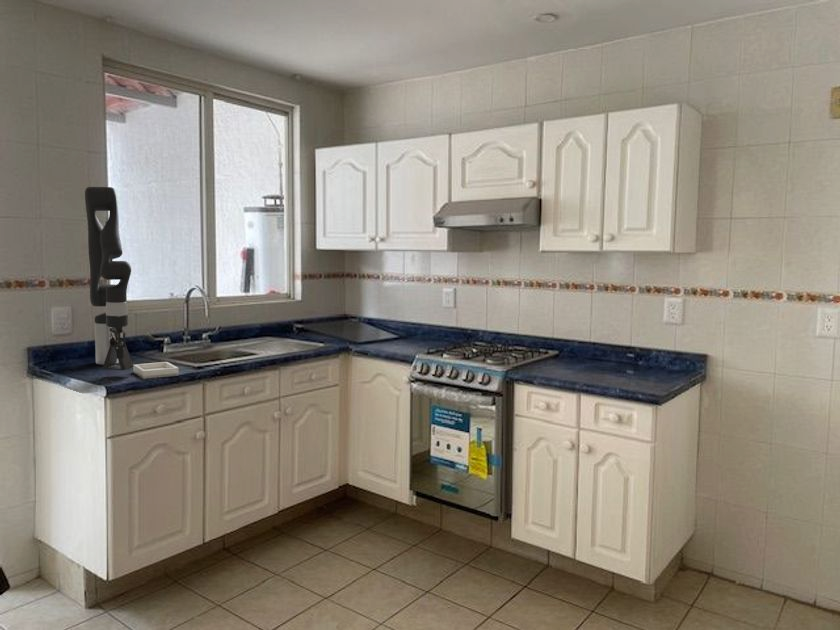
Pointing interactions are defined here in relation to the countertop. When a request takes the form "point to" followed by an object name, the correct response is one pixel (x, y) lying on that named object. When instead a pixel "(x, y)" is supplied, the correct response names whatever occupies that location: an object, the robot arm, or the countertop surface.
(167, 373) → the tray
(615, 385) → the countertop surface
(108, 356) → the dark tent sign
